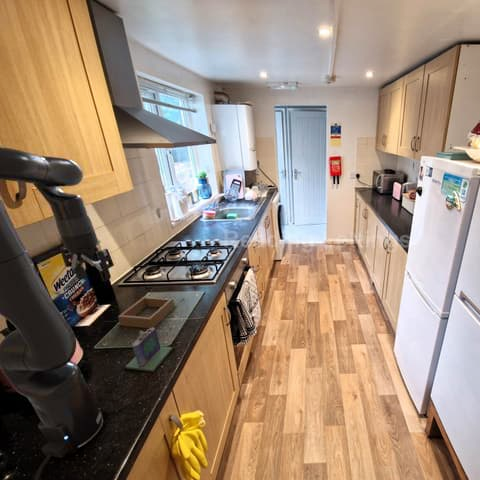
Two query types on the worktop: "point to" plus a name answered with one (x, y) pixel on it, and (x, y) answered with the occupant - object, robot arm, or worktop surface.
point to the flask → (146, 346)
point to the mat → (152, 362)
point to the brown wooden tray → (146, 322)
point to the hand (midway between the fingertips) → (94, 279)
